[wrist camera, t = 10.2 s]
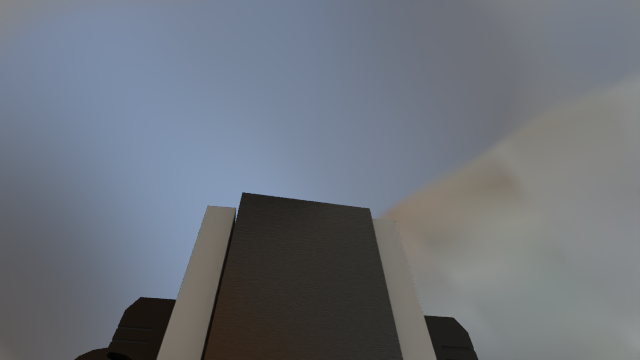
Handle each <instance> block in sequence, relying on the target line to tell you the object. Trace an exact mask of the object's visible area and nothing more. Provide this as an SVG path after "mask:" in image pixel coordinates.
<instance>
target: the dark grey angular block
mask: <svg viewBox="0 0 640 360" xmlns="http://www.w3.org/2000/svg"><path fill="white" fill-rule="evenodd" d="M204 360H403V356H402V352H401V347H400V343H399V338H398V334H397V329H396V325H395V320H394V316H393V311H392V307H391V302H390V298H389V293H388V289H387V284H386V280H385V275H384V271H383V266H382V262H381V257H380V253H379V248H378V244H377V239H376V235H375V230H374V226H373V221H372V217H371V212H370V209H369V208H361V207H353V206H345V205H337V204H329V203H321V202H314V201H306V200H298V199H289V198H282V197H274V196H267V195H259V194H251V193H242V197H241V201H240V205H239V210H238V215H237V218H236V223H235V227H234V231H233V236H232V240H231V244H230V249H229V253H228V257H227V262H226V266H225V270H224V275H223V279H222V283H221V288H220V292H219V296H218V301H217V305H216V309H215V314H214V318H213V322H212V327H211V331H210V335H209V340H208V344H207V348H206V353H205V357H204Z"/></svg>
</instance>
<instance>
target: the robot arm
mask: <svg viewBox="0 0 640 360" xmlns="http://www.w3.org/2000/svg"><path fill="white" fill-rule="evenodd" d="M235 218H236V208H230V207H217V206H208V207H207V210H206V213H205V216H204V219H203V222H202V225H201V228H200V231H199V234H198V237H197V240H196V243H195V246H194V249H193V252H192V255H191V258H190V261H189V264H188V267H187V270H186V273H185V276H184V279H183V282H182V285H181V288H180V291H179V294H178V297H177V300H173V299H160V298H146V297H145V298H144V297H140V298H139V299H138V300H137V301H135V302H134V303H133V304H132V305H131V306H130V307H128V308H127V309H126V310H125V312H124V314H123V316H122V318H121V321H120V323H119V325H118V329H116V332H115V334H114V336H113V338H112V342H111V343H110V345H109V347H108V348H102V349H96V350H92V351H90V352H88V353H85V354H83V355H81V356H79V357H77V358H76V359H75V360H204V357H205V353H206V348H207V344H208V340H209V335H210V331H211V327H212V322H213V318H214V314H215V309H216V305H217V301H218V296H219V292H220V288H221V283H222V279H223V275H224V270H225V266H226V262H227V257H228V253H229V249H230V244H231V240H232V236H233V231H234V227H235ZM372 221H373V226H374V230H375V235H376V239H377V244H378V248H379V253H380V257H381V262H382V266H383V271H384V275H385V280H386V284H387V289H388V293H389V298H390V302H391V307H392V311H393V316H394V320H395V325H396V329H397V334H398V338H399V343H400V347H401V352H402V356H403V360H478V358H477V355H476V352H475V351H474V347H473V345H472V342H471V340H470V337H469V334H468V332H467V331H466V330H465V329H464V328H463V327H462V326H461V325H460V324H459V323H458V322H457V321H456V320H455V319H454V318H452V317H438V316H424V315H423V312H422V308H421V305H420V302H419V298H418V295H417V291H416V288H415V285H414V281H413V278H412V275H411V271H410V268H409V264H408V261H407V258H406V254H405V251H404V247H403V244H402V241H401V237H400V234H399V231H398V227H397V224H396V221H393V220H381V219H372Z"/></svg>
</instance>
